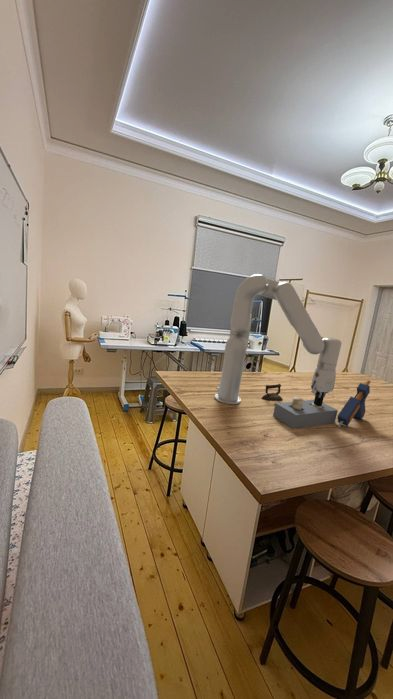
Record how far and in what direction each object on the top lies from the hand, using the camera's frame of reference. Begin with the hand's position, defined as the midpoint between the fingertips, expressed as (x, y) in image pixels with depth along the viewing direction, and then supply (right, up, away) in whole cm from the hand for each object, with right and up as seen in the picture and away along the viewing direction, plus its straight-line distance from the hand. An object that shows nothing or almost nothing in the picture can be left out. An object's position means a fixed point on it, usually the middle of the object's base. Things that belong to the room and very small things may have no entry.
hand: (317, 404), depth 130 cm
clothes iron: (-17, -1, +19) cm, 25 cm away
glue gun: (+16, -9, +3) cm, 18 cm away
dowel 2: (-1, -5, +1) cm, 5 cm away
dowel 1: (-12, -2, -6) cm, 13 cm away
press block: (-7, -6, -2) cm, 9 cm away
